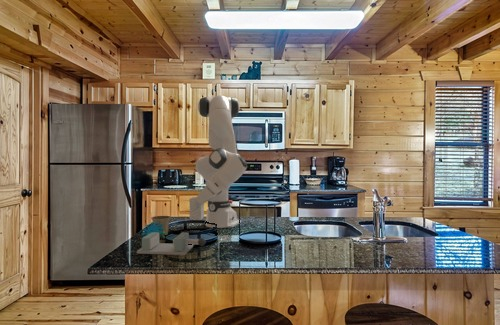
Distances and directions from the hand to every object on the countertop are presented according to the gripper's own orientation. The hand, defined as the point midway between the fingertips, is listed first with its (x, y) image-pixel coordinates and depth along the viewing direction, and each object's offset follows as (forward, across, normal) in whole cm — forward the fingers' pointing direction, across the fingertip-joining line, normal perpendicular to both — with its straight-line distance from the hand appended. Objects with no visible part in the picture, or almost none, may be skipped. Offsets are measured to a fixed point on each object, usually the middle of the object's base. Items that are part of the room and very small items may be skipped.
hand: (195, 207), depth 141 cm
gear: (+28, -9, -4) cm, 30 cm away
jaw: (+11, +7, +11) cm, 17 cm away
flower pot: (+28, -18, -4) cm, 33 cm away
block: (+3, 0, +4) cm, 5 cm away
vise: (+20, +7, +4) cm, 21 cm away
